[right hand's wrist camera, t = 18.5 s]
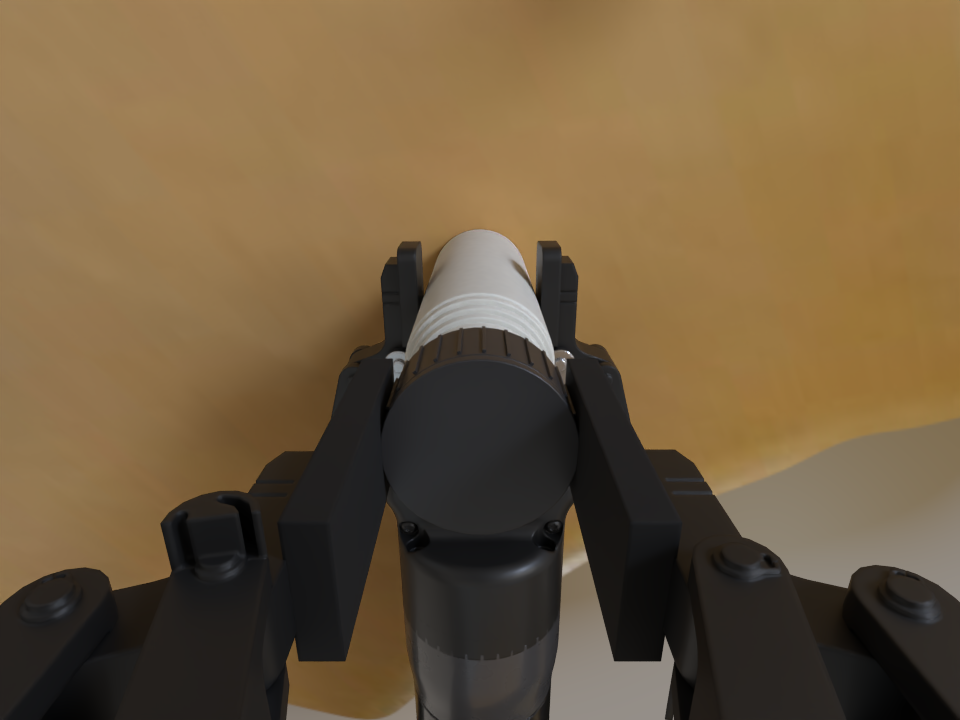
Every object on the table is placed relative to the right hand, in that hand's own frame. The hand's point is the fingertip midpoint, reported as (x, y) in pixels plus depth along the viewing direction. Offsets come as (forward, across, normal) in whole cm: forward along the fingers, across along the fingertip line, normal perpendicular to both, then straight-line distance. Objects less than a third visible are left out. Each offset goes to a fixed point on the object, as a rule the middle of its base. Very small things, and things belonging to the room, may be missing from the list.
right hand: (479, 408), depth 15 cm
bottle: (+15, 0, 0) cm, 15 cm away
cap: (-2, 0, 0) cm, 2 cm away
